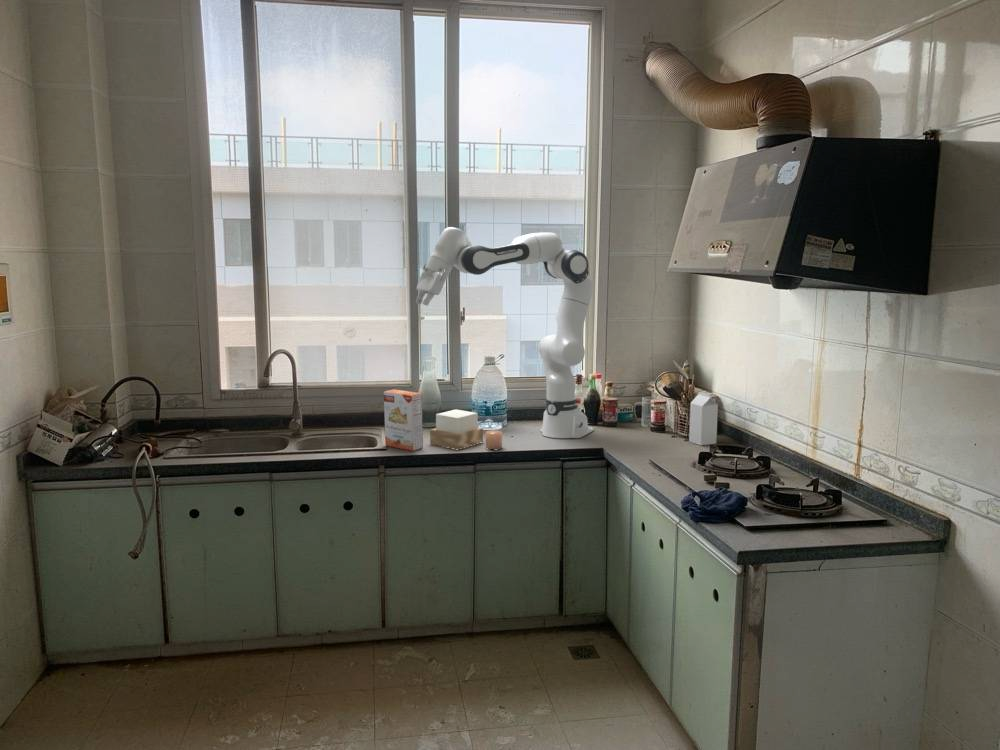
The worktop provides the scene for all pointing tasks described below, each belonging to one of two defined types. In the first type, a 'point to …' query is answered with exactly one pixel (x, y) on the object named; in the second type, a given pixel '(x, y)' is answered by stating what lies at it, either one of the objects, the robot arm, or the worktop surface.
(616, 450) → the worktop surface
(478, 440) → the tower base
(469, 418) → the tower top
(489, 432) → the pink cylinder
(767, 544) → the worktop surface
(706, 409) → the milk carton
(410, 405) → the cracker box
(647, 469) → the worktop surface
